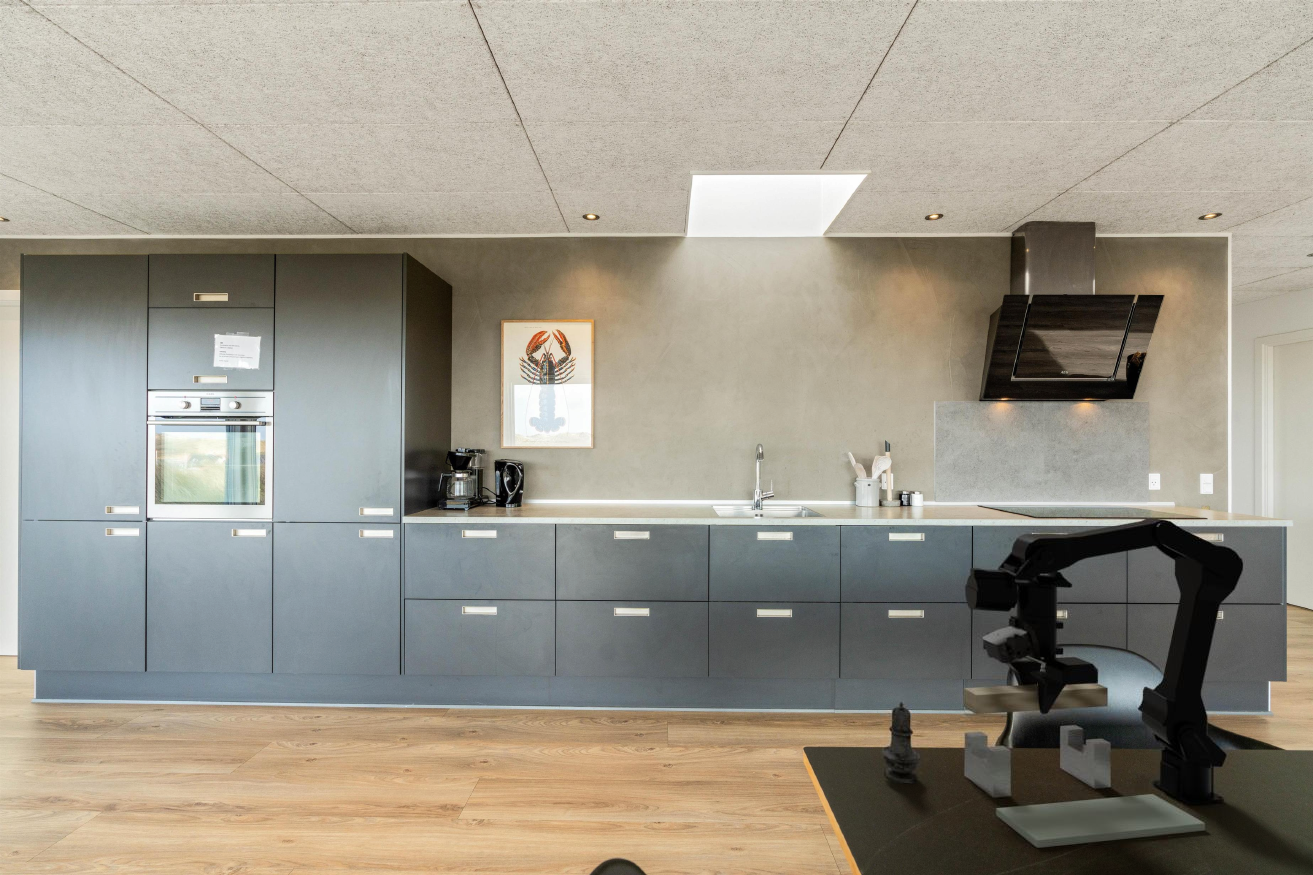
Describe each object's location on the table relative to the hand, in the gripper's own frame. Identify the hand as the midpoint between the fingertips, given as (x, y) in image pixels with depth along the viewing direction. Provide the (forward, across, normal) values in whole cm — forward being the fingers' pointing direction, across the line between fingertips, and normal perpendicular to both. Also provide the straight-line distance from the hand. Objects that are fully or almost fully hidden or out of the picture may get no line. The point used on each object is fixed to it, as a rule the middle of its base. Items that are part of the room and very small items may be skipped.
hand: (1036, 709), depth 106 cm
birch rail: (0, 0, 0) cm, 0 cm away
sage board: (+12, +12, 0) cm, 17 cm away
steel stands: (+12, 0, 0) cm, 12 cm away
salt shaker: (+12, -5, -21) cm, 25 cm away
